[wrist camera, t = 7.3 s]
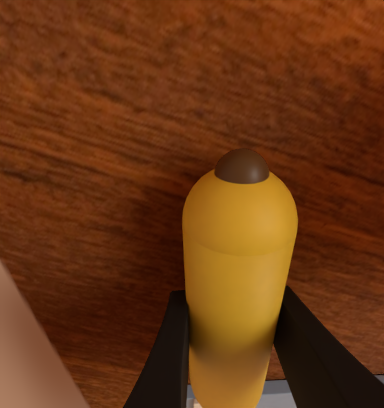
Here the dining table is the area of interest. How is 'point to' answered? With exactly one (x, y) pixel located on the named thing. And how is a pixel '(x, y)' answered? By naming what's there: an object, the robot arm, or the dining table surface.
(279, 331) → the robot arm
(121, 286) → the dining table surface
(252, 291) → the banana
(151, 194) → the dining table surface
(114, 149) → the dining table surface
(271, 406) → the grey flat rectangular block
